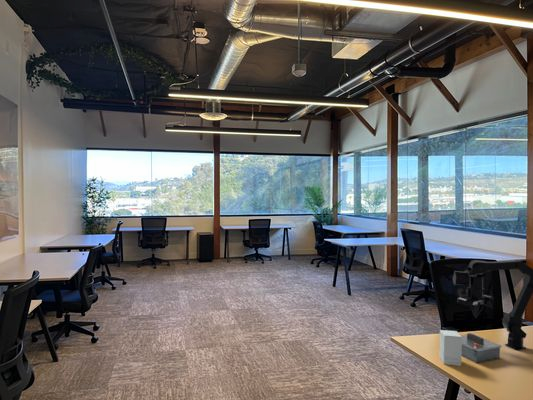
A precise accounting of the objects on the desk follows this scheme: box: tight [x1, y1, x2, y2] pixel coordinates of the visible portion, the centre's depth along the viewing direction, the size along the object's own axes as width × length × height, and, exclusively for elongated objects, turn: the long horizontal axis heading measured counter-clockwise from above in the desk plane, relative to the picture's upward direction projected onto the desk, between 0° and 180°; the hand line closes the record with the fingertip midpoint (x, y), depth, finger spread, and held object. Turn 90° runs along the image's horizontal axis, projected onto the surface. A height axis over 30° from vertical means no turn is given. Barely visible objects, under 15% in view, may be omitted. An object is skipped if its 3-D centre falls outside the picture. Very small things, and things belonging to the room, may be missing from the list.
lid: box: [461, 332, 502, 352], centre depth 169 cm, size 15×15×3 cm
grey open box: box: [462, 345, 501, 364], centre depth 169 cm, size 14×14×5 cm
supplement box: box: [438, 329, 463, 367], centre depth 161 cm, size 7×7×13 cm
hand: (475, 317), depth 182 cm, fingers closed
